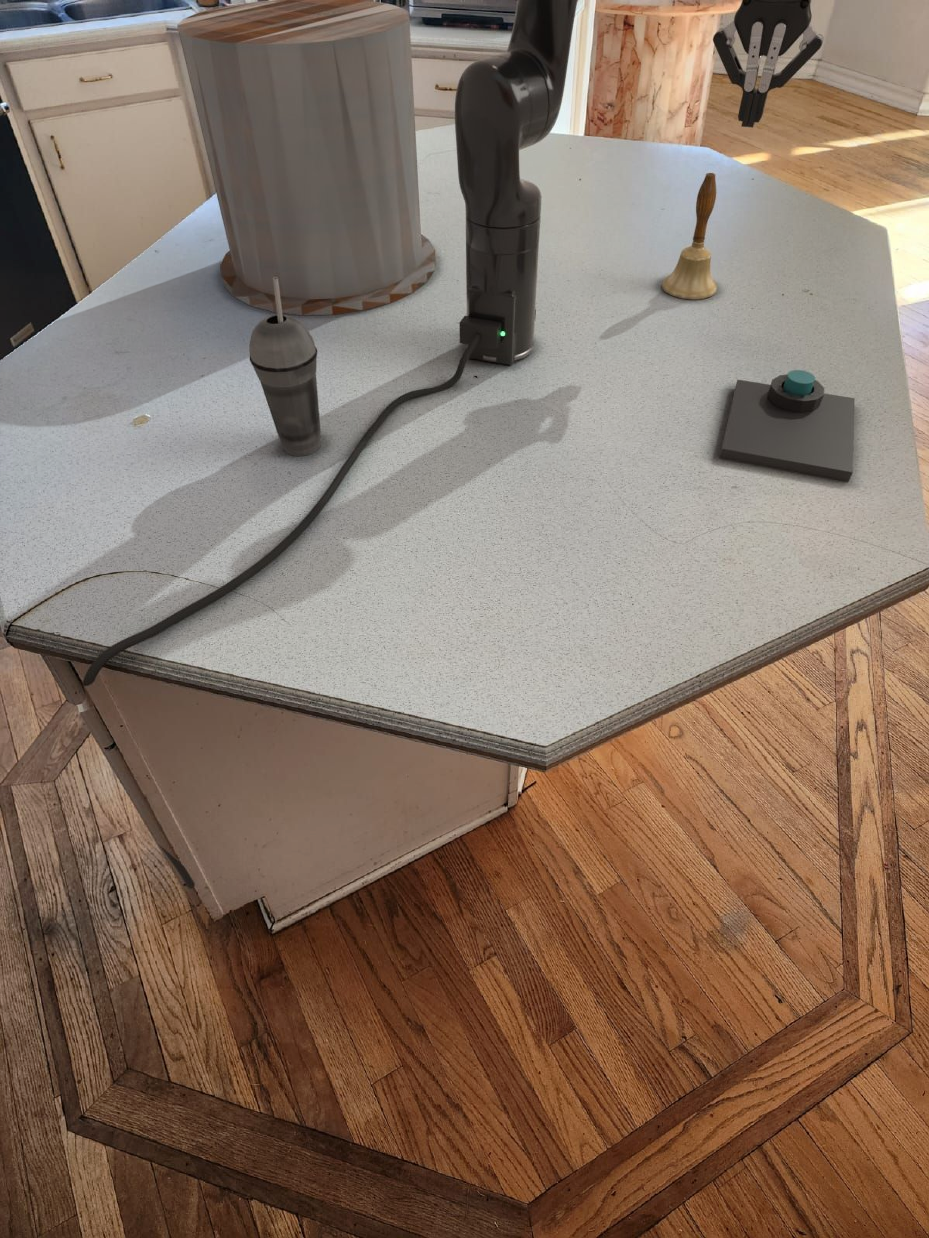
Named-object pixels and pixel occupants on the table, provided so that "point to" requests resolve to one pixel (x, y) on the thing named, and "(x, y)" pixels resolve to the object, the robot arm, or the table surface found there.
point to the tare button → (799, 382)
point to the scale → (791, 430)
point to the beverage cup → (288, 378)
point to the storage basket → (311, 151)
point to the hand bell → (695, 253)
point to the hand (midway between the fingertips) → (748, 125)
